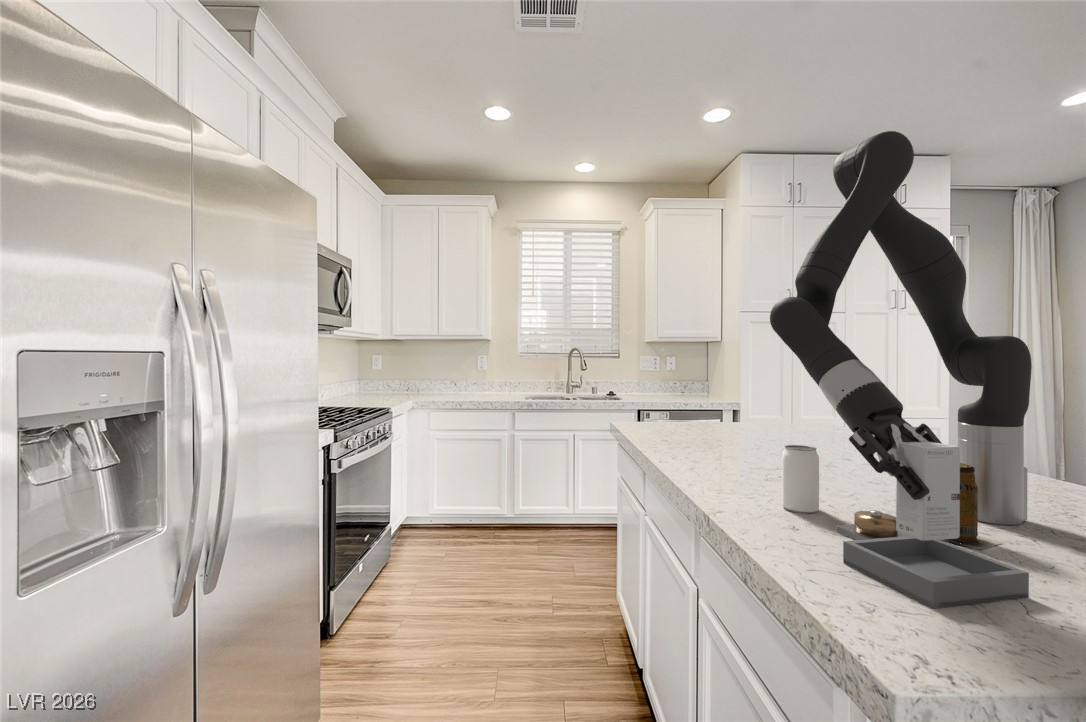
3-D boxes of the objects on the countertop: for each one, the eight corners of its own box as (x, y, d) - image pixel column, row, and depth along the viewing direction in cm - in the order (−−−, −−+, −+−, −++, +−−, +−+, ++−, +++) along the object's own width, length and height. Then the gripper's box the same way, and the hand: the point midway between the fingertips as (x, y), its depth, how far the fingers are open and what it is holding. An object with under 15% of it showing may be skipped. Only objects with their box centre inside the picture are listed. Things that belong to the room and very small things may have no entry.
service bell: (876, 528, 90) (876, 503, 90) (918, 544, 83) (918, 517, 83) (836, 531, 89) (836, 506, 89) (874, 548, 81) (874, 520, 81)
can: (823, 514, 98) (823, 450, 98) (786, 512, 100) (786, 449, 100) (813, 505, 105) (813, 445, 105) (778, 503, 106) (778, 444, 106)
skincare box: (924, 542, 67) (925, 447, 67) (893, 530, 71) (894, 441, 71) (962, 538, 68) (963, 446, 68) (929, 527, 73) (931, 440, 73)
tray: (925, 555, 78) (925, 534, 78) (1028, 597, 64) (1028, 572, 64) (843, 562, 75) (843, 541, 75) (933, 608, 62) (933, 582, 62)
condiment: (942, 528, 91) (943, 458, 91) (1003, 543, 83) (1003, 468, 83) (918, 534, 88) (918, 462, 87) (978, 551, 80) (978, 472, 80)
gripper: (839, 380, 74) (925, 483, 63) (909, 379, 79) (999, 474, 68) (808, 413, 79) (882, 514, 68) (875, 411, 84) (954, 503, 73)
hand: (940, 493), depth 68 cm, fingers closed on skincare box, 6 cm apart
